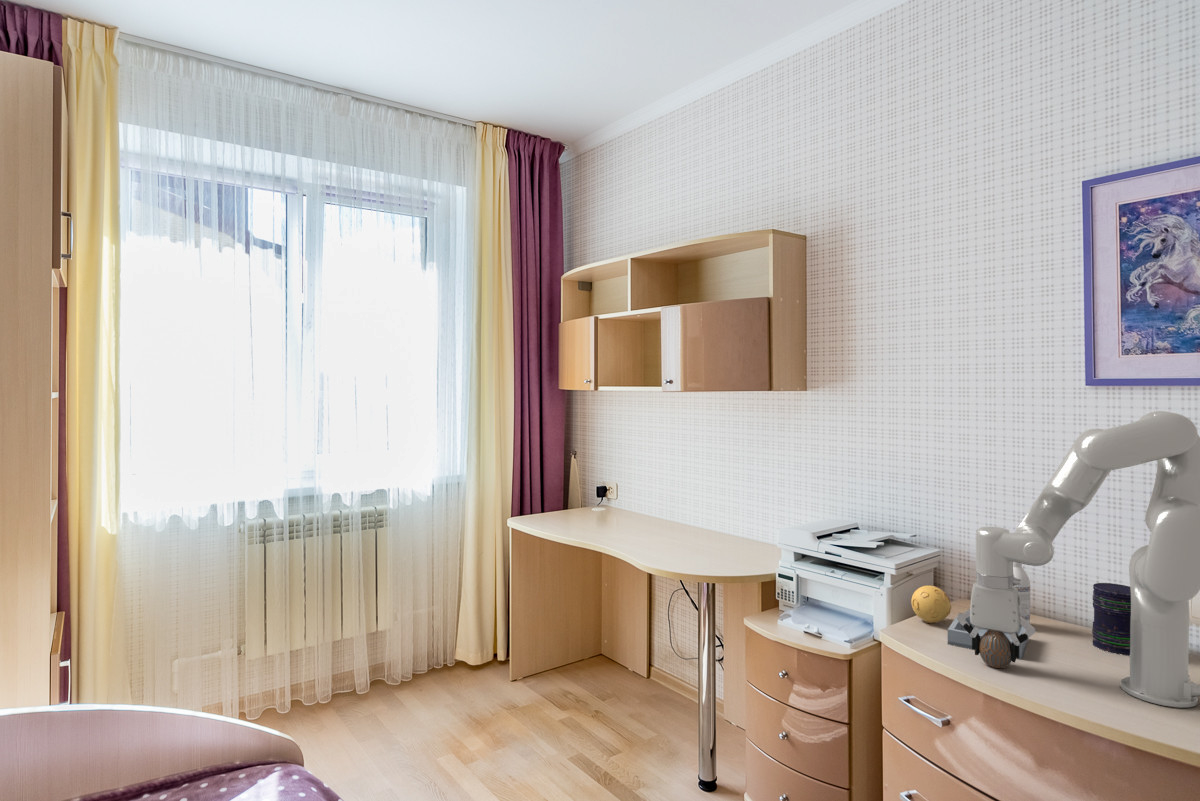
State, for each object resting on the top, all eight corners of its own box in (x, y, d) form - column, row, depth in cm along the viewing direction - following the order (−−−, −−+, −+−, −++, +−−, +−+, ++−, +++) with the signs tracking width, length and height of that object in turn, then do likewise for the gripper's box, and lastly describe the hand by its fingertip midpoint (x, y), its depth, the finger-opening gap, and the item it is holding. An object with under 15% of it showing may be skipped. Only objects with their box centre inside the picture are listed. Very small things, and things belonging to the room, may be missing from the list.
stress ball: (914, 618, 192) (897, 600, 188) (935, 591, 193) (918, 572, 189) (943, 635, 183) (925, 617, 179) (964, 607, 184) (947, 588, 180)
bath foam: (999, 619, 188) (999, 548, 188) (1028, 623, 185) (1029, 551, 185) (1001, 627, 182) (1001, 554, 182) (1031, 631, 179) (1031, 557, 179)
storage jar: (1091, 637, 175) (1091, 580, 174) (1139, 645, 169) (1140, 586, 169) (1092, 650, 166) (1093, 590, 166) (1143, 658, 161) (1144, 597, 161)
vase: (1018, 671, 153) (1017, 633, 153) (985, 669, 154) (984, 631, 154) (1006, 660, 160) (1005, 623, 160) (974, 658, 161) (974, 621, 161)
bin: (1028, 639, 173) (1028, 625, 173) (1021, 659, 161) (1021, 643, 160) (959, 626, 183) (959, 612, 183) (947, 644, 170) (947, 629, 170)
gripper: (1040, 583, 154) (1041, 660, 155) (956, 571, 165) (957, 644, 165) (1037, 590, 149) (1038, 671, 149) (950, 578, 159) (951, 653, 159)
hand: (995, 656), depth 157 cm, fingers closed on vase, 6 cm apart
